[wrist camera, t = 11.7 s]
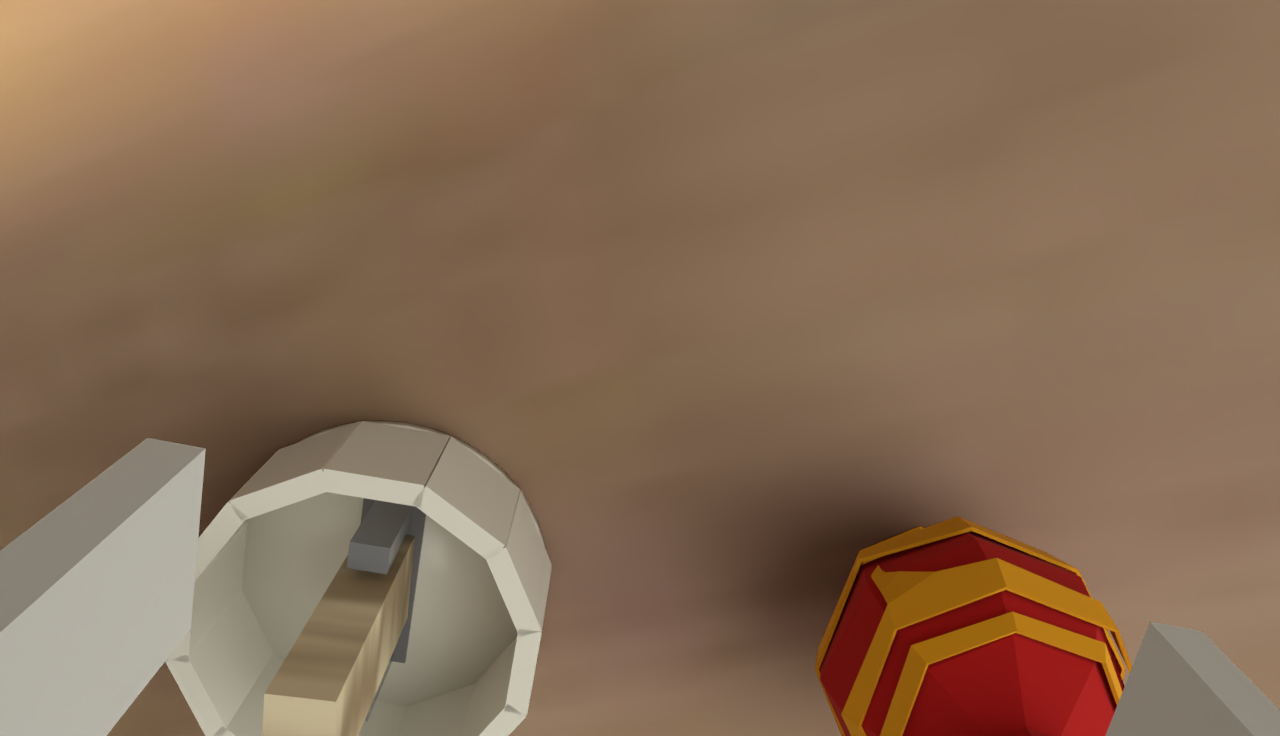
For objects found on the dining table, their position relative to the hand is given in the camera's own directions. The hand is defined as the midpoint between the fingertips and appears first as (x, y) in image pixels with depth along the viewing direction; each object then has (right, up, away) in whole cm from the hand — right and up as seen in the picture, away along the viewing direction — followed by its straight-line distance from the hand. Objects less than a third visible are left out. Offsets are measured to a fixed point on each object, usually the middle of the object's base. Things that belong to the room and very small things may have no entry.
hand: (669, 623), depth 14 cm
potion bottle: (+11, -5, +27) cm, 30 cm away
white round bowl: (-10, -5, +26) cm, 29 cm away
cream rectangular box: (-10, -5, +26) cm, 28 cm away
